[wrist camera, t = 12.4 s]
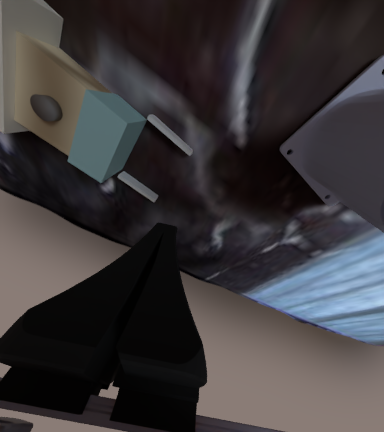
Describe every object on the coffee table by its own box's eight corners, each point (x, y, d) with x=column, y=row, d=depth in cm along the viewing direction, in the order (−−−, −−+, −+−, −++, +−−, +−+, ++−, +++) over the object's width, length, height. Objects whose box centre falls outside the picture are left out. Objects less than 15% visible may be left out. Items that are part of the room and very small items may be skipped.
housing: (118, 98, 14) (87, 94, 10) (98, 152, 17) (68, 163, 13) (62, 49, 12) (1, 24, 9) (51, 118, 15) (3, 120, 12)
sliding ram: (147, 120, 14) (127, 123, 11) (122, 168, 17) (101, 183, 14) (117, 94, 13) (85, 89, 10) (96, 150, 16) (67, 161, 13)
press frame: (198, 143, 15) (194, 153, 12) (153, 201, 19) (142, 220, 16) (33, -9, 10) (-48, -63, 7) (26, 114, 15) (-26, 115, 12)
